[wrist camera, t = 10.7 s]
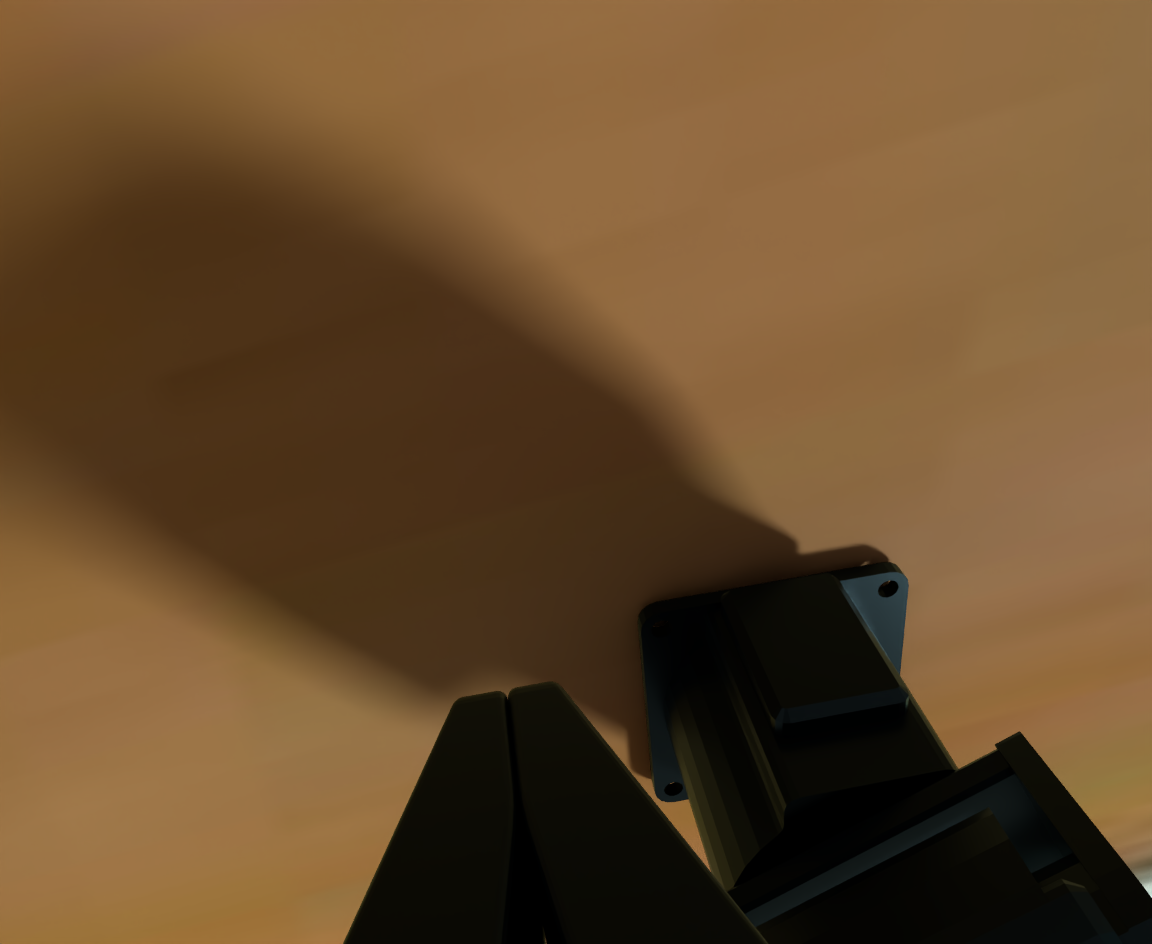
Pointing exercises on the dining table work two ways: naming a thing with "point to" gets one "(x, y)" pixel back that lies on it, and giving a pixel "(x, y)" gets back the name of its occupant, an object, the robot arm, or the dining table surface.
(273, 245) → the dining table surface
